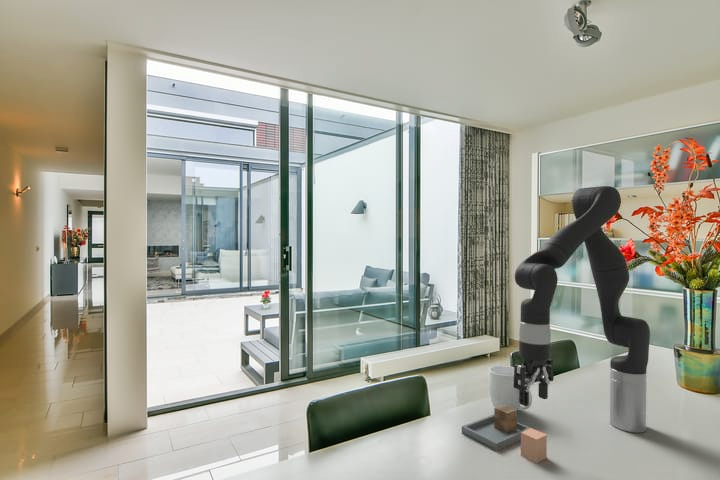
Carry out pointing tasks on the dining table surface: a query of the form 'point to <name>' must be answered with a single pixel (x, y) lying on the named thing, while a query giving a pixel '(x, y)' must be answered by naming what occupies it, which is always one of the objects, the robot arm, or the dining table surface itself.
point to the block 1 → (505, 419)
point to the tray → (492, 433)
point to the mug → (505, 388)
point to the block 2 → (534, 445)
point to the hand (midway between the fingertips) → (533, 401)
